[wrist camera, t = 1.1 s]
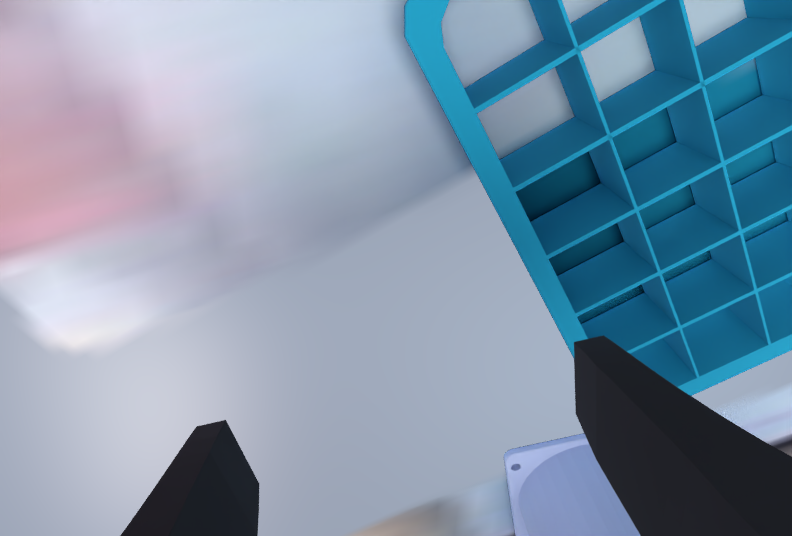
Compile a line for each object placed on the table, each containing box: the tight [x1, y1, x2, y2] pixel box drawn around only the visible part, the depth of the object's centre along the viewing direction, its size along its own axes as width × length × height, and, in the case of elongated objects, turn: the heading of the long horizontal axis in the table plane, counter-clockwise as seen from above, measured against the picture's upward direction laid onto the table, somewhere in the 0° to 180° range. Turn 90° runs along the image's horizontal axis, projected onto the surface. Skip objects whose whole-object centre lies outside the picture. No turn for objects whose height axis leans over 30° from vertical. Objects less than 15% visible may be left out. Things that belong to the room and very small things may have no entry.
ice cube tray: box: [404, 0, 792, 396], centre depth 19 cm, size 12×20×3 cm, turn 30°
